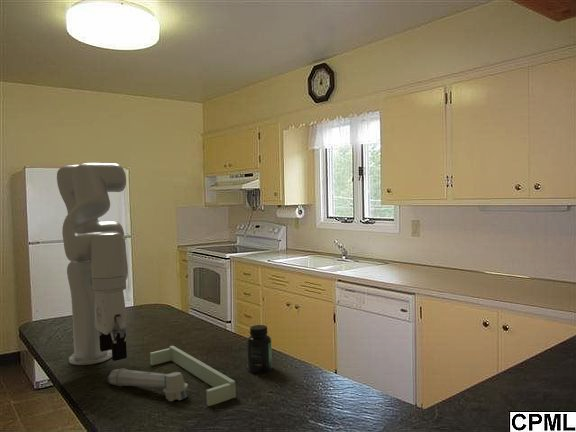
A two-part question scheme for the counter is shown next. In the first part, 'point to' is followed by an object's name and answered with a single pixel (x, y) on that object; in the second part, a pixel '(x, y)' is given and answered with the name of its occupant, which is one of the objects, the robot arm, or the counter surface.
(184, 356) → the bracket
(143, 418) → the counter surface
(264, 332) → the supplement bottle
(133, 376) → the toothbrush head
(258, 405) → the counter surface
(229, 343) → the counter surface
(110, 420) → the counter surface
